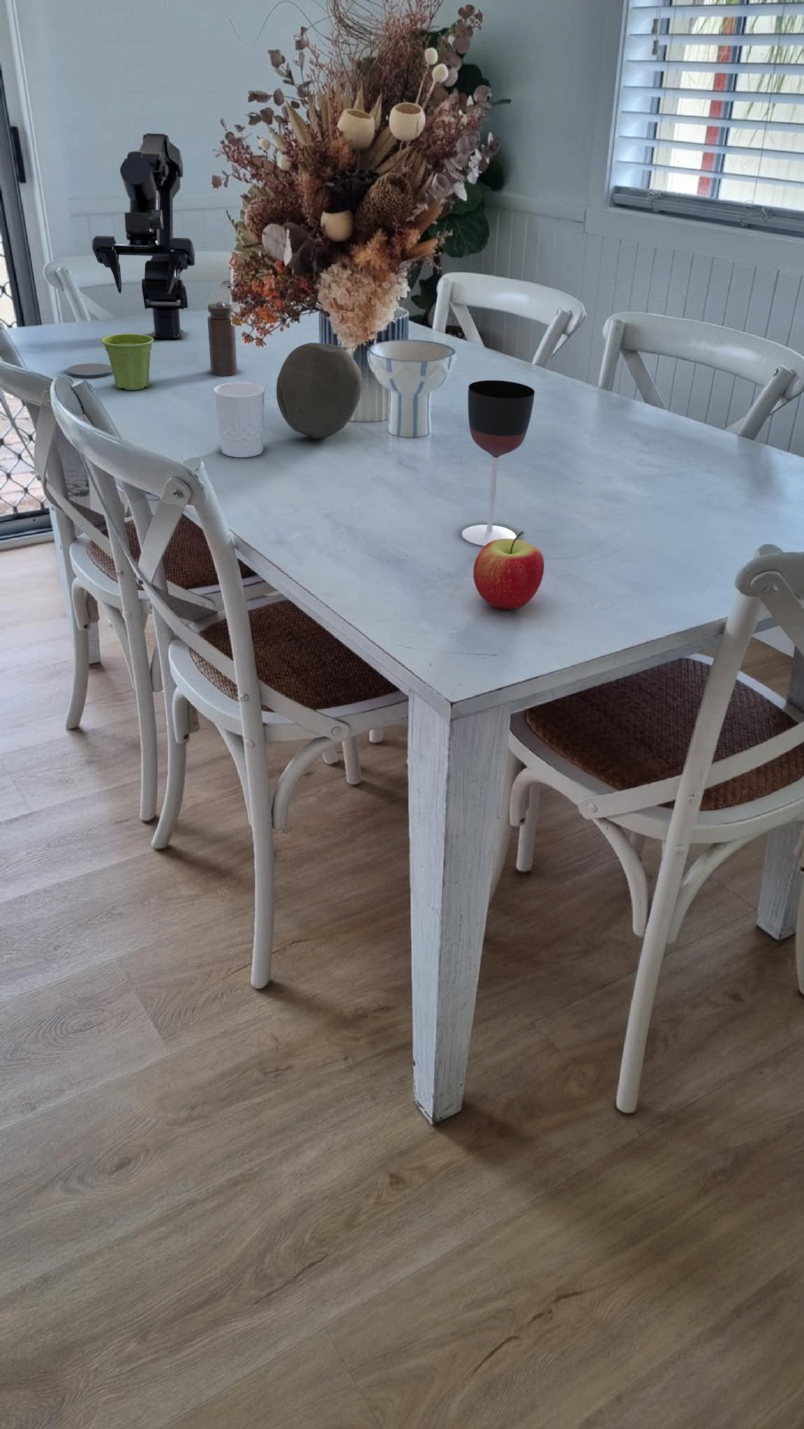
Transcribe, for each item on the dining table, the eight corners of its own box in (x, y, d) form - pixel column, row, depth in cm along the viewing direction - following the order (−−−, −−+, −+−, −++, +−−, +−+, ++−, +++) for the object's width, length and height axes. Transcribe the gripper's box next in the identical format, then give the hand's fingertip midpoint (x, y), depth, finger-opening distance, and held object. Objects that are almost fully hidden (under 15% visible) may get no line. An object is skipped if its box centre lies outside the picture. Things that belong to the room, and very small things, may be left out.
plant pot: (102, 381, 203) (96, 335, 199) (151, 377, 207) (146, 331, 202) (112, 395, 196) (107, 346, 192) (163, 390, 200) (158, 343, 195)
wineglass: (480, 519, 151) (491, 376, 140) (531, 535, 146) (547, 390, 136) (446, 534, 146) (455, 388, 135) (498, 552, 141) (512, 402, 130)
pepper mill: (211, 369, 214) (206, 298, 206) (237, 369, 214) (233, 298, 207) (210, 376, 209) (205, 304, 202) (237, 376, 210) (233, 304, 203)
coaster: (70, 366, 212) (70, 363, 212) (115, 366, 213) (115, 363, 213) (64, 378, 205) (63, 375, 204) (110, 378, 206) (110, 375, 205)
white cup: (257, 461, 168) (255, 398, 163) (210, 456, 170) (206, 393, 164) (272, 445, 175) (270, 384, 170) (227, 441, 176) (223, 380, 171)
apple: (501, 626, 123) (509, 546, 118) (456, 598, 129) (461, 521, 124) (554, 609, 128) (563, 531, 122) (508, 583, 133) (515, 507, 128)
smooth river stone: (352, 451, 174) (353, 358, 166) (268, 444, 175) (265, 351, 167) (368, 426, 186) (369, 337, 177) (289, 419, 187) (287, 331, 179)
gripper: (86, 190, 197) (85, 269, 196) (188, 193, 198) (187, 272, 197) (99, 223, 208) (97, 299, 207) (195, 226, 210) (194, 301, 208)
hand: (143, 292), depth 204 cm, fingers open, 9 cm apart
